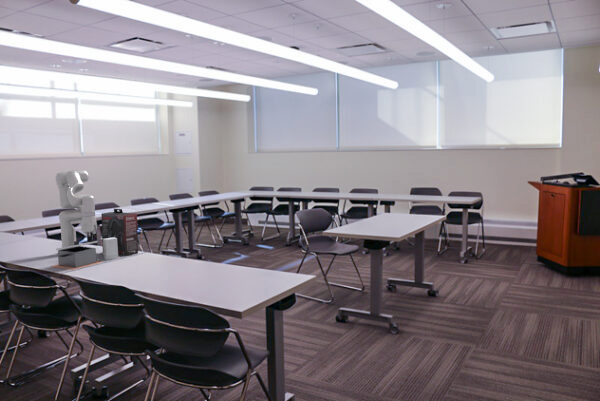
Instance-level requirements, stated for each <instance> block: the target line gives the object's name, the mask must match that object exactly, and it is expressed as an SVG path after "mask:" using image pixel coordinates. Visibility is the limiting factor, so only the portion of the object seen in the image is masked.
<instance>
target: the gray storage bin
mask: <svg viewBox="0 0 600 401" xmlns="http://www.w3.org/2000/svg"><path fill="white" fill-rule="evenodd" d="M57 256H58V258H57V259H58V260H57V261H58V264H59V266H66V267H72V268H78V267H82V266H86V265H90V264H94V263H96V261H97V248H96V247H89V246H84V245H82V246H77V247H72V248H67V249H62V250H57ZM94 265H95V264H94ZM90 266H91V265H90Z"/></svg>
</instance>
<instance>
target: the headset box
mask: <svg viewBox="0 0 600 401" xmlns="http://www.w3.org/2000/svg"><path fill="white" fill-rule="evenodd" d="M123 211H124V210H123V208H113V211H111V212H109V211H108V212H103V213H101V214H100V215H101V239H102V240H101V242H102V244H101V245H103V239H105V238H112V237H115V238H117V246H118V256H124V257H127V256H130V255H134V254H135V255H136V254H138V253H139V244H138V243H139V242H138V214H137V213H132V212H123ZM102 254H104V250H103V249H102Z"/></svg>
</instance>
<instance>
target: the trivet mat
mask: <svg viewBox="0 0 600 401" xmlns="http://www.w3.org/2000/svg"><path fill="white" fill-rule="evenodd" d="M101 263H103V261H100V260H96V263H94V264H90V265H86V266H82V267H78V268H72V267H66V266H59V263H58V264H55V265H51V266H50V267H51V268H52V267H53V268H58V269H64V270H71V271H75V270H79V269H81V268H82V269H83V268H86V267H87V268H88V267H91V266H94V265H98V264H101Z"/></svg>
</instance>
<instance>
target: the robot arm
mask: <svg viewBox="0 0 600 401" xmlns="http://www.w3.org/2000/svg"><path fill="white" fill-rule="evenodd" d="M89 178H90V176H89V174H88V171H86V170H85V169H80V170H79V169H75V170H74V169H73V170H68V171H61V172H58V173H56V175H55V182H56V185H57V188H58V192H59V203H60V207H61V209H65V210H64V211H60V213H59V214H58V220H59V225H60V233H61V236H60V237H61V239H60V240H61V247H60V248H62V247H67V246H72V245H74V241H77V233H76V232H77V231H76V228H75V226H74V225H73V224H80V223H81V225H80V230H81V231H82V232H83V234H85V235H86V241H87V242H86V243H88V242H94V235H95V234H97V230H98V223H97V217H96V209H95V208H96V206H95V196H93V195H91V194H77V193H79V192H81V191H82V190H83V189H84V188H85V184H84V183H87V182H88V181H89ZM70 209H71V210H70ZM72 209H73V210H72ZM66 249H67V248H66ZM61 250H62V249H61Z"/></svg>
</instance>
